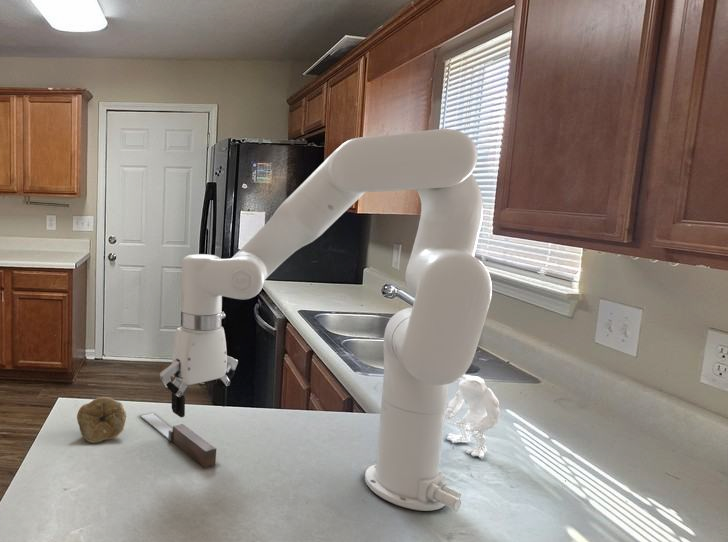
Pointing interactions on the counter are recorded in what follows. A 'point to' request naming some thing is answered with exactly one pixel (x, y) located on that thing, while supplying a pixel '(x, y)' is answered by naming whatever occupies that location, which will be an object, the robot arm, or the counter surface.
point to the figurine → (474, 412)
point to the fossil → (101, 419)
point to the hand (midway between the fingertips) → (199, 409)
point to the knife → (185, 440)
